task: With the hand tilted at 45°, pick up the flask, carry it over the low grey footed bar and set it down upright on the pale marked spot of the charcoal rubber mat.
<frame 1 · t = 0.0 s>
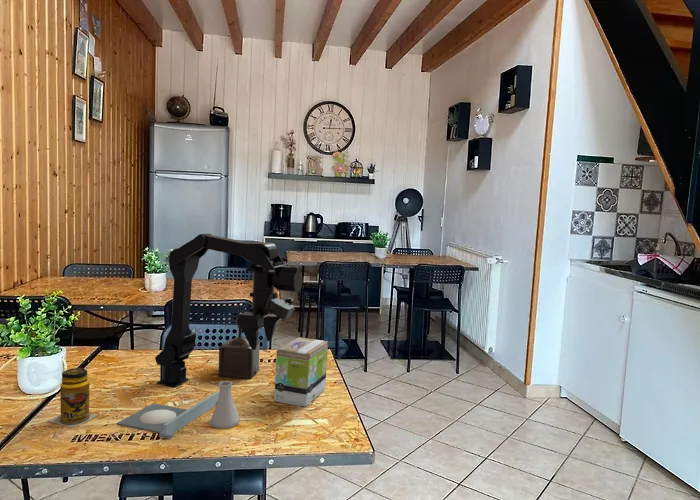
hand: (261, 345, 139), 15 cm above the table, tool pointing down, fingers open, 9 cm apart
flask: (224, 423, 123), on the table
grey footed bar: (193, 418, 125), on the table
tea box: (300, 396, 143), on the table
condiment: (72, 419, 122), on the table
dark wooden grinder box: (242, 371, 162), on the table
resting mat: (158, 418, 124), on the table
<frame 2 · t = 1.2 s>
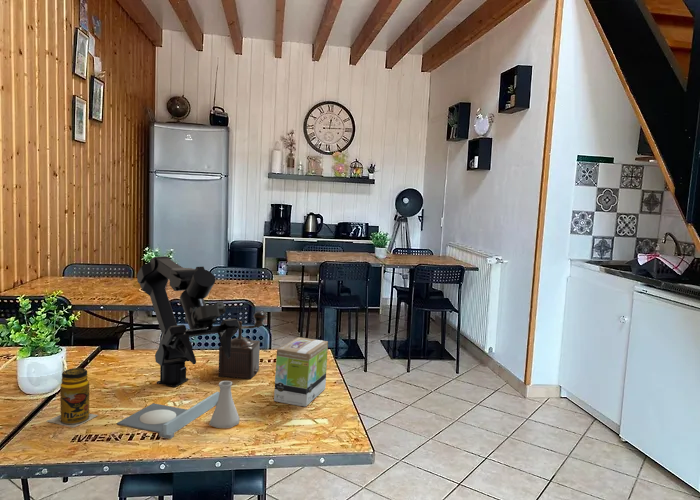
hand: (212, 360, 128), 13 cm above the table, tool tilted 45°, fingers open, 9 cm apart
nothing on the table moved.
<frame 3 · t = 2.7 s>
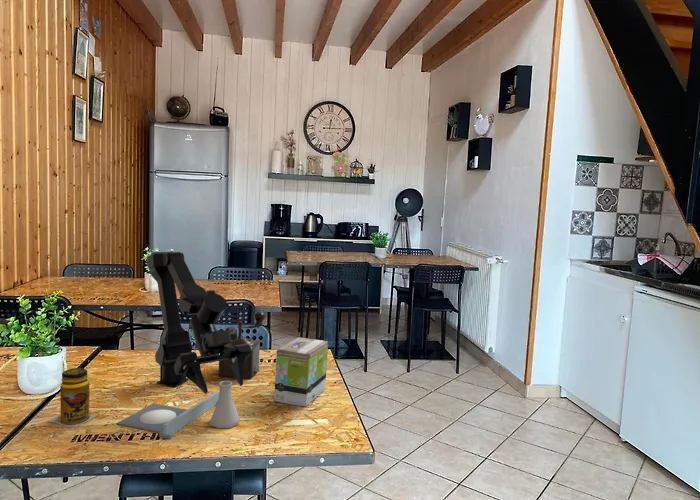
hand: (224, 388, 123), 8 cm above the table, tool tilted 45°, fingers open, 9 cm apart
nothing on the table moved.
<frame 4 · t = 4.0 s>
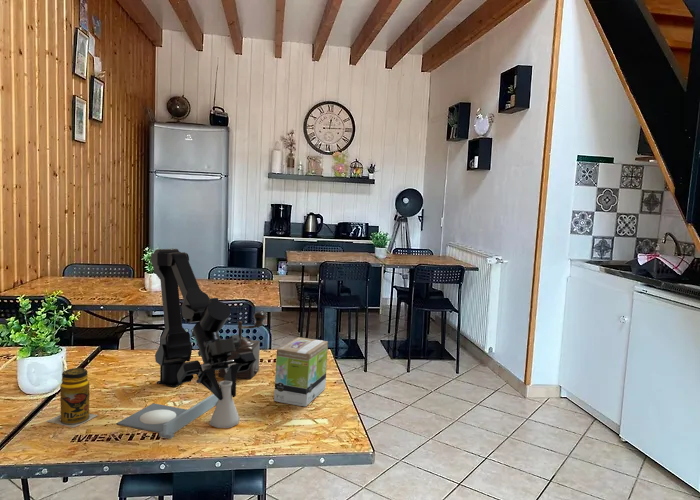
hand: (228, 397, 122), 7 cm above the table, tool tilted 45°, fingers closed on flask, 3 cm apart
flask: (224, 423, 123), on the table, touching gripper
everything else where it was.
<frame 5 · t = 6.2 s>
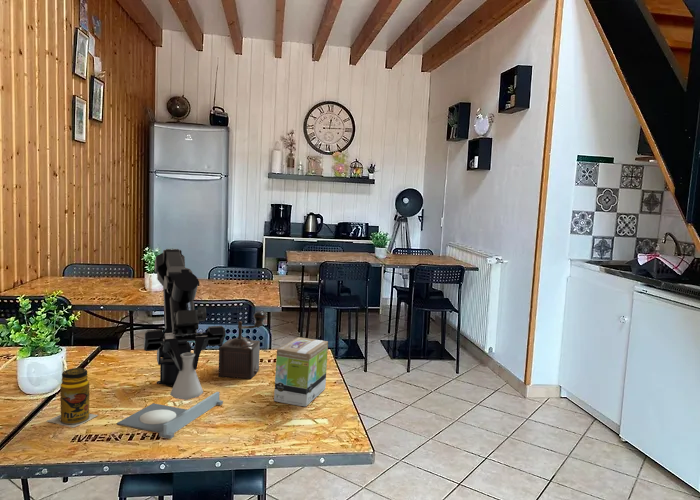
hand: (188, 369, 121), 13 cm above the table, tool tilted 45°, fingers closed on flask, 3 cm apart
flask: (186, 395, 123), point 7 cm above the table, touching gripper
everything else where it was.
when the fingers open (8 cm above the table, at t = 8.5 s): flask stays where it is, resting on resting mat.
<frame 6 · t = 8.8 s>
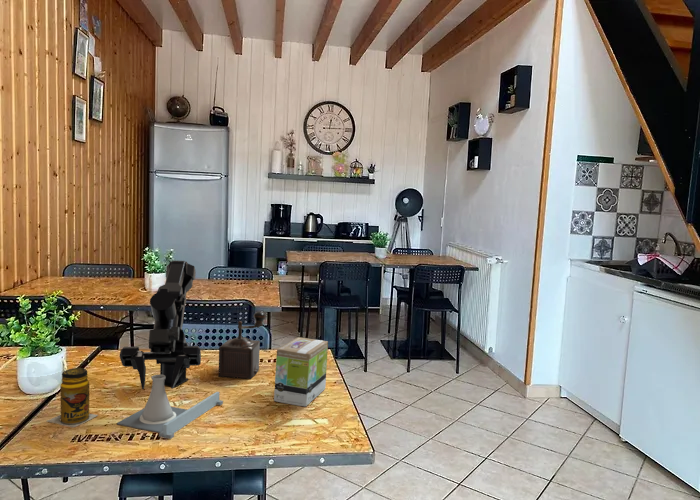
hand: (157, 388, 122), 8 cm above the table, tool tilted 45°, fingers open, 6 cm apart
flask: (157, 417, 124), resting on resting mat
everything else where it was.
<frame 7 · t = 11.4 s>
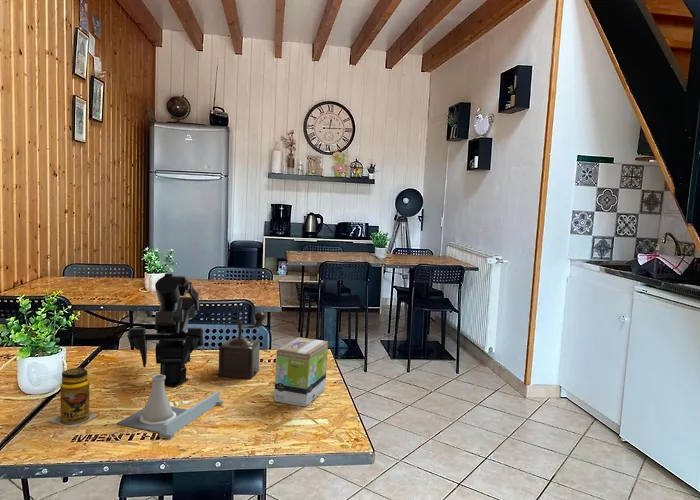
hand: (163, 366, 131), 11 cm above the table, tool tilted 45°, fingers open, 9 cm apart
nothing on the table moved.
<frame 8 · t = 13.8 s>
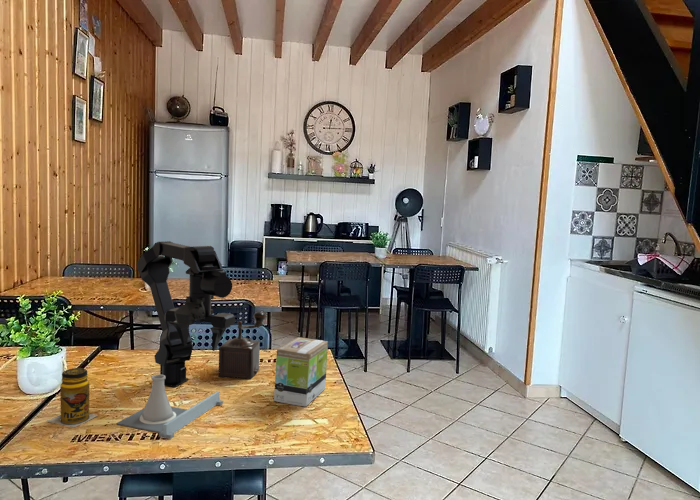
hand: (199, 348, 139), 13 cm above the table, tool pointing down, fingers open, 9 cm apart
nothing on the table moved.
at the end: flask inside the target area (0.3 cm from its centre), resting on resting mat; flask tilted 0°; the gripper is holding nothing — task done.
